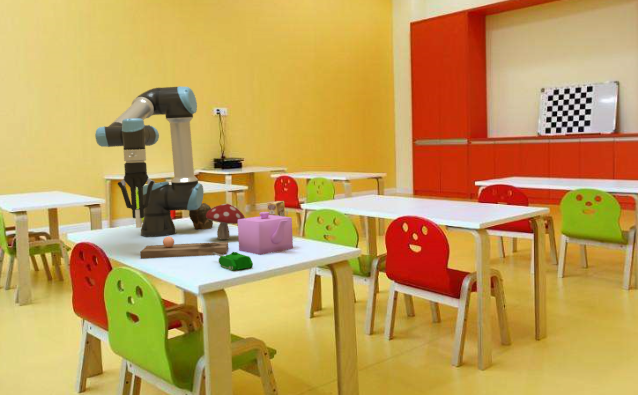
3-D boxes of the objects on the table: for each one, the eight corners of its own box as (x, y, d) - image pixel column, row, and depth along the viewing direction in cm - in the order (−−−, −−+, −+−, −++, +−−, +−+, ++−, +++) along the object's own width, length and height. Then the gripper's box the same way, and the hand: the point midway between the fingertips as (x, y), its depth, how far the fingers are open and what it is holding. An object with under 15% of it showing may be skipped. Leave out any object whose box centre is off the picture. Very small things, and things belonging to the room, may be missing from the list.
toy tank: (226, 259, 198) (225, 245, 197) (253, 268, 182) (252, 253, 182) (207, 262, 194) (207, 248, 193) (233, 272, 178) (233, 256, 178)
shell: (191, 227, 278) (190, 202, 277) (214, 226, 279) (213, 201, 278) (188, 230, 268) (187, 204, 266) (212, 229, 268) (211, 203, 267)
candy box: (278, 241, 230) (276, 203, 229) (268, 241, 231) (267, 203, 230) (286, 237, 238) (284, 200, 237) (276, 237, 240) (275, 200, 238)
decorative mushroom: (243, 235, 248) (241, 200, 246) (248, 241, 232) (246, 204, 231) (205, 238, 244) (203, 203, 242) (208, 244, 228) (206, 206, 227)
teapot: (272, 257, 198) (270, 217, 197) (231, 249, 217) (229, 212, 216) (305, 251, 209) (304, 212, 207) (264, 243, 227) (262, 208, 226)
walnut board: (147, 252, 216) (147, 245, 215) (228, 248, 218) (228, 241, 218) (140, 258, 204) (140, 251, 204) (226, 254, 206) (225, 247, 206)
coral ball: (164, 246, 212) (163, 235, 212) (175, 246, 212) (174, 235, 212) (162, 248, 208) (161, 237, 208) (173, 248, 208) (172, 237, 208)
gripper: (113, 162, 202) (117, 229, 204) (151, 161, 203) (155, 227, 205) (119, 162, 209) (123, 226, 211) (155, 161, 211) (159, 225, 213)
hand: (139, 227), depth 208 cm, fingers closed
